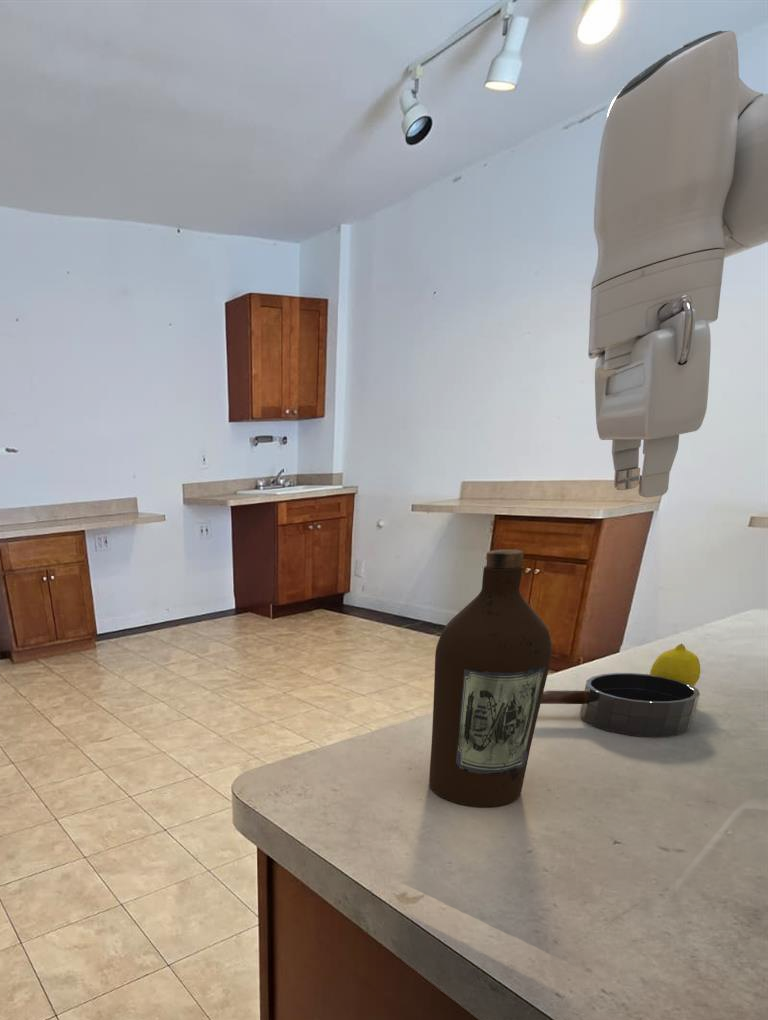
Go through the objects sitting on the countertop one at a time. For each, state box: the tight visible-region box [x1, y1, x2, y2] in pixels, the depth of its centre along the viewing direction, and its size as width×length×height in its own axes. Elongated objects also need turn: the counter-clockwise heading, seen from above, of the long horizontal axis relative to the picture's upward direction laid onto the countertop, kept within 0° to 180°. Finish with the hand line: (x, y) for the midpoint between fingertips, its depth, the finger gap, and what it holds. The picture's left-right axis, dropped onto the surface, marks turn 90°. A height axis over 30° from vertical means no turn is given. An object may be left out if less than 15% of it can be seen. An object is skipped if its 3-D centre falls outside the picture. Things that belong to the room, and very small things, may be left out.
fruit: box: [649, 643, 701, 687], centre depth 88 cm, size 6×6×8 cm
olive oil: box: [428, 549, 553, 808], centre depth 65 cm, size 11×11×25 cm
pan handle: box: [540, 689, 588, 705], centre depth 86 cm, size 11×2×2 cm, turn 77°
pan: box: [579, 672, 701, 738], centre depth 83 cm, size 12×12×4 cm
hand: (638, 492), depth 58 cm, fingers open, 8 cm apart
